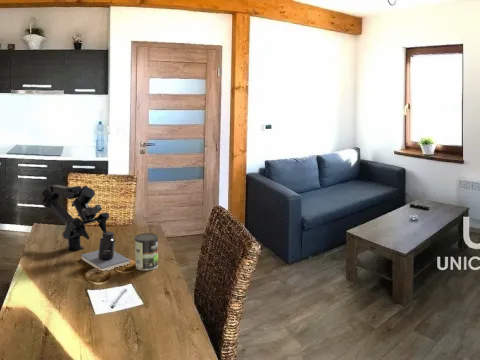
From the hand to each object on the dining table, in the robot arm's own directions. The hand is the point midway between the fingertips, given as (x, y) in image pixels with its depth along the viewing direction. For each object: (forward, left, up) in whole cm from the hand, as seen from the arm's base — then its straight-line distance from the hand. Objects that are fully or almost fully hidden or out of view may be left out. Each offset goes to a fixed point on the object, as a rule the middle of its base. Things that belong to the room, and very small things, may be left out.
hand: (97, 236), depth 196 cm
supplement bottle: (+6, 0, -9) cm, 11 cm away
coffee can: (+22, +12, -11) cm, 28 cm away
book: (+5, +1, -12) cm, 13 cm away
